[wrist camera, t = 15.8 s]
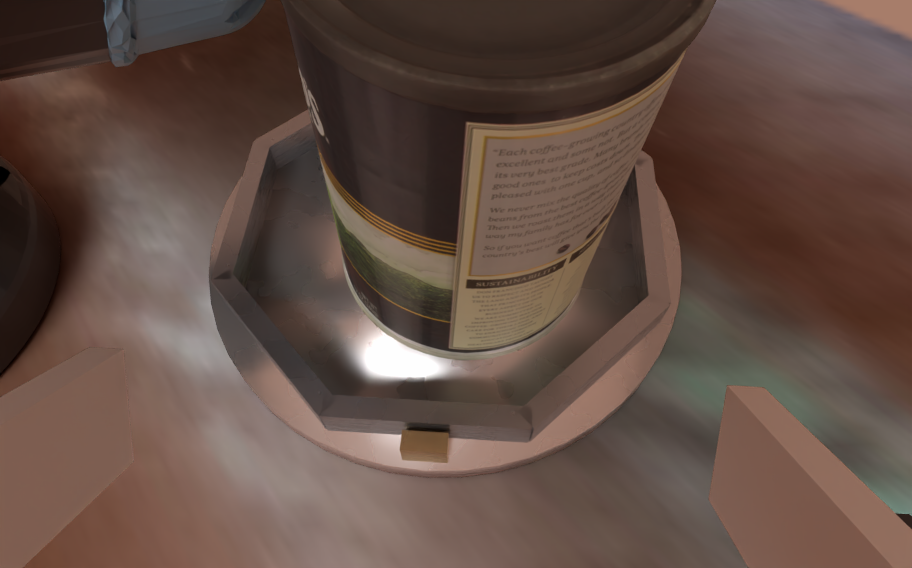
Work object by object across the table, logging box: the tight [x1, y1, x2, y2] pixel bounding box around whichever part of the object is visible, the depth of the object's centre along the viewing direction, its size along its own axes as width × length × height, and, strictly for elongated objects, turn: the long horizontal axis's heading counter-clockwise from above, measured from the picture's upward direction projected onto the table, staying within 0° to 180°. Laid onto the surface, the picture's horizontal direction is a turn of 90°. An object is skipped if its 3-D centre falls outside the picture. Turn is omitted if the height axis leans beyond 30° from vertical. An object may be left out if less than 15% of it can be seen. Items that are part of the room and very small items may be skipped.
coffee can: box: [281, 0, 716, 360], centre depth 20 cm, size 10×10×14 cm
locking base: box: [209, 110, 682, 478], centre depth 27 cm, size 20×20×2 cm
